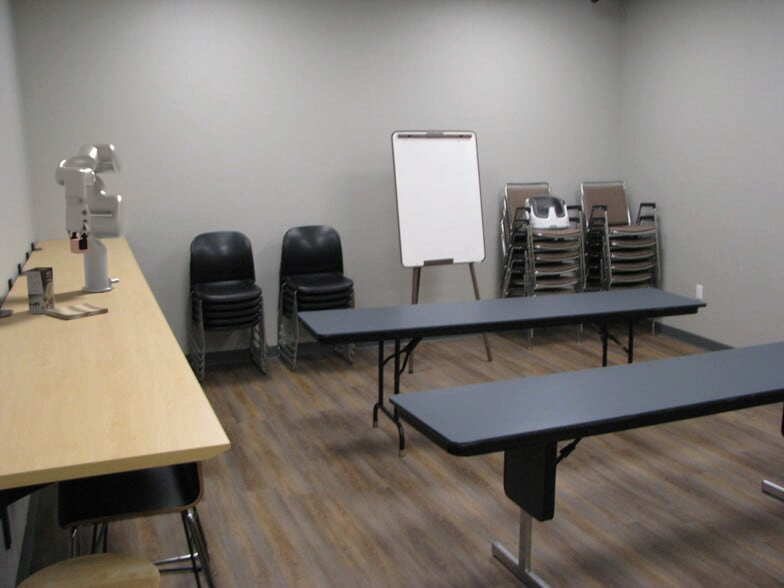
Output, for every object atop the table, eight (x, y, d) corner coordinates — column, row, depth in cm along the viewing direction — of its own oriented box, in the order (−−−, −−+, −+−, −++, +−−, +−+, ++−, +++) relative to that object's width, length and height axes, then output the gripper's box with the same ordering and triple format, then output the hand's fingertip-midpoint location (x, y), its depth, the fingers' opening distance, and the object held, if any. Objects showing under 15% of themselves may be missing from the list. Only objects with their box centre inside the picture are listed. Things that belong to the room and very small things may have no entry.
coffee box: (46, 313, 272) (43, 271, 269) (28, 313, 272) (25, 270, 268) (55, 308, 281) (52, 266, 278) (38, 308, 281) (35, 266, 277)
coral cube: (82, 250, 287) (81, 238, 286) (90, 252, 285) (89, 239, 283) (70, 252, 283) (69, 239, 282) (78, 253, 281) (77, 240, 279)
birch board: (86, 306, 285) (86, 303, 284) (108, 312, 277) (107, 308, 277) (47, 314, 272) (46, 310, 272) (68, 319, 264) (68, 315, 264)
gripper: (98, 202, 278) (101, 250, 282) (72, 199, 287) (75, 245, 291) (80, 203, 272) (83, 252, 276) (54, 200, 281) (57, 247, 285)
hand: (79, 248), depth 283 cm, fingers closed on coral cube, 5 cm apart
